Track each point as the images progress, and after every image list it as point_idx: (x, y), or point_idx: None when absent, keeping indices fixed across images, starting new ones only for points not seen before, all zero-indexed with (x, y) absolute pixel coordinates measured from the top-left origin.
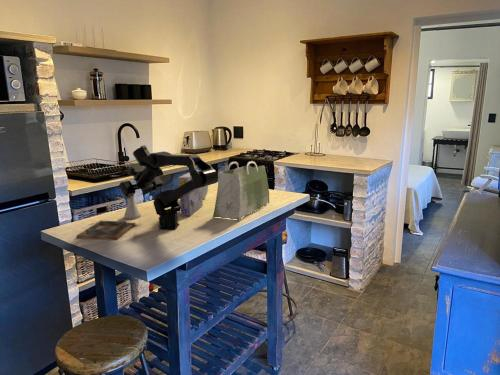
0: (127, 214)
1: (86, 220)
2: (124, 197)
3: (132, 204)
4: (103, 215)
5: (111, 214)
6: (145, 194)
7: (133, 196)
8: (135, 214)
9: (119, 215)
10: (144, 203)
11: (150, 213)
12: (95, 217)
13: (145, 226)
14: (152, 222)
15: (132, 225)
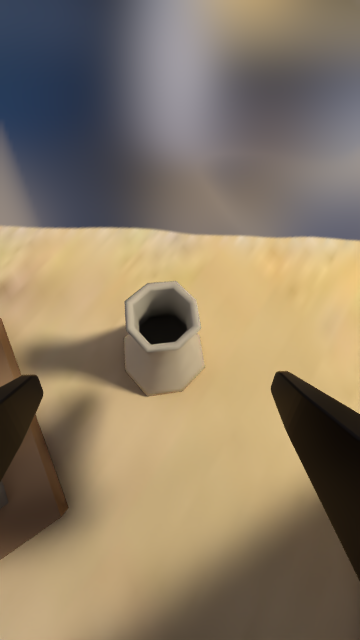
0: (127, 356)
1: (25, 236)
2: (9, 386)
3: (153, 363)
4: (107, 236)
5: (134, 250)
6: (289, 425)
7: (173, 350)
8: (157, 388)
9: None
10: (308, 237)
11: (253, 379)
12: (72, 233)
13: (85, 596)
14: (164, 552)
15: (25, 540)
